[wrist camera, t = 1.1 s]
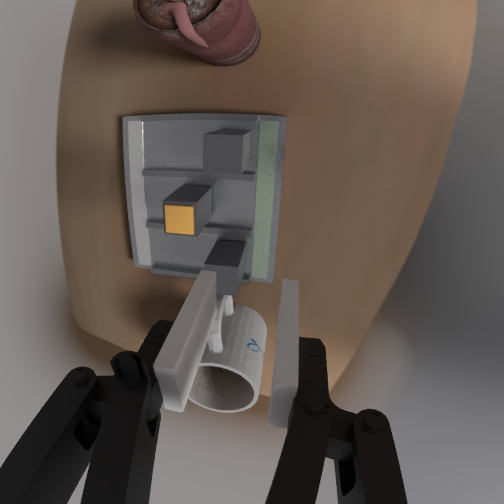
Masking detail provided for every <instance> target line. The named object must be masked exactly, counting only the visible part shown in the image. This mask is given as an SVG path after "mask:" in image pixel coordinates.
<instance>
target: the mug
mask: <svg viewBox="0 0 504 504" xmlns="http://www.w3.org/2000/svg"><path fill="white" fill-rule="evenodd" d="M216 305H217V315H216V318H215V321H214V324H213V327H212V329H211V332H210V335H209V338H208V341H207V344H206V347H205V350H204V353H203V355H202V358H201V361H200V364H199V367H198V370H197V373H196V376H195V379H194V382H193V385H192V387H191V390H190V393H189V396H188V399H189V400H191V401H192V402H194V403H196V404H198V405H199V406H201V407H204V408H206V409H209V410H213V411H218V412H238V411H243V410H246V409H248V408H250V407H251V406H253V405H254V404H255V403H256V401H257V399H258V395H259V388H260V381H261V374H262V366H263V359H264V351H265V344H266V336H267V328H266V324H265V322H264V320H263V319H262V317H261V316H260V315H259V314H258V313H257V312H256V311H254V310H253V309H251V308H249V307H247V306H245V305H242V304H238V303H233V300H232V296H230V295H222V294H216Z"/></svg>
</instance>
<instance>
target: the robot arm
mask: <svg viewBox="0 0 504 504" xmlns="http://www.w3.org/2000/svg"><path fill="white" fill-rule="evenodd" d="M216 315H217V305H216V272H215V271H206V270H201V272H200V273H199V275H198V277H197V279H196V281H195V283H194V285H193V287H192V289H191V291H190V293H189V295H188V297H187V298H186V300H185V302H184V304H183V306H182V308H181V310H180V312H179V314H178V316H177V318H176V320H175V322H171V321H165V320H160V321H158V322H157V323H156V324H154V325H153V326H152V328H151V329H150V331H149V333H148V336H146V338H145V340H144V343H142V345H141V347H140V349H139V351H138V352H134V351H124V352H121V353H118V354H117V355H115V356H114V357H113V358H112V360H111V361H110V363H111V366H112V369H113V371H114V374H115V375H112V376H96V374H95V372H94V371H93V370H92V369H90V368H88V367H77V368H75V369H73V370H71V371H70V372H69V373H68V374H67V375H66V377H65V378H64V379H63V381H62V382H61V383H60V385H59V386H58V387H57V388H56V390H55V391H54V392H53V394H52V395H51V396H50V398H49V399H48V401H47V402H46V403H45V404H44V406H43V407H42V408H41V410H40V411H39V413H38V414H37V416H36V417H35V418H34V420H33V421H32V422H31V424H30V425H29V426H28V428H27V430H26V431H25V432H24V434H23V435H22V436H21V438H20V439H19V441H18V442H17V444H16V445H15V447H14V448H13V450H12V452H11V453H10V454H9V455H8V457H7V458H6V460H5V462H4V463H3V465H2V466H1V468H0V504H67V503H68V501H69V499H70V497H71V495H72V493H73V492H74V490H75V488H76V486H77V484H78V482H79V481H80V479H81V477H82V475H83V473H84V472H85V470H86V468H87V466H88V465H89V463H90V465H89V469H88V473H87V477H86V481H85V485H84V490H83V494H82V499H81V504H149V497H150V489H151V481H152V473H153V466H154V459H155V452H156V446H157V439H158V433H159V426H160V421H161V413H160V408H161V405H162V403H163V404H164V407H165V409H168V410H172V411H177V412H181V413H182V412H183V411H184V408H185V405H186V402H187V399H188V396H189V393H190V390H191V387H192V385H193V382H194V379H195V376H196V373H197V370H198V367H199V364H200V361H201V358H202V355H203V353H204V350H205V347H206V344H207V341H208V338H209V335H210V332H211V329H212V327H213V324H214V321H215V318H216ZM268 426H274V427H285V428H287V426H288V430H287V435H286V439H285V442H284V445H283V449H282V452H281V456H280V459H279V462H278V465H277V469H276V472H275V475H274V478H273V481H272V484H271V487H270V490H269V493H268V496H267V499H266V502H265V504H315V501H316V498H317V493H318V489H319V484H320V480H321V475H322V471H323V466H324V461H325V457H327V458H330V459H334V464H335V474H336V485H337V495H338V504H407V499H406V493H405V488H404V484H403V479H402V474H401V470H400V465H399V461H398V457H397V452H396V448H395V444H394V440H393V436H392V432H391V428H390V424H389V421H388V419H387V417H386V416H385V415H384V414H383V413H382V412H380V411H377V410H375V409H366V410H362V411H360V412H359V413H358V414H355V413H352V412H348V411H345V410H343V409H340V408H338V407H337V406H335V404H334V403H333V402H332V401H331V399H330V397H329V390H328V375H327V362H326V349H325V346H324V344H323V343H322V341H321V340H320V339H317V338H305V337H299V280H291V279H283V284H282V293H281V301H280V309H279V317H278V326H277V337H276V348H275V358H274V369H273V378H272V388H271V397H270V407H269V416H268Z"/></svg>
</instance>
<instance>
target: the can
mask: <svg viewBox="0 0 504 504" xmlns="http://www.w3.org/2000/svg"><path fill="white" fill-rule="evenodd" d="M133 9H134V11H135V15H136V18H137V20H138V22H139V24H140V26H141V27H142V28H143V29H144V30H146V31H147V32H148V33H149V34H150V35H153V36H155V37H157V38H160V39H162V40H164V41H166V42H169V43H171V44H173V45H175V46H177V47H180V48H182V49H184V50H186V51H188V52H190V53H192V54H194V55H196V56H198V57H200V58H202V59H204V60H206V61H208V62H210V63H212V64H214V65H219V66H232V65H237V64H239V63H241V62H244V61H246V60H247V59H248V58H249V57H251V56H252V55H253V54H254V52H255V51H256V49H257V48H258V46H259V42H260V38H261V35H260V28H259V26H258V23H257V21H256V18H255V16H254V14H253V12H252V9H251V7H250V5H249V2H248V0H133Z"/></svg>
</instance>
